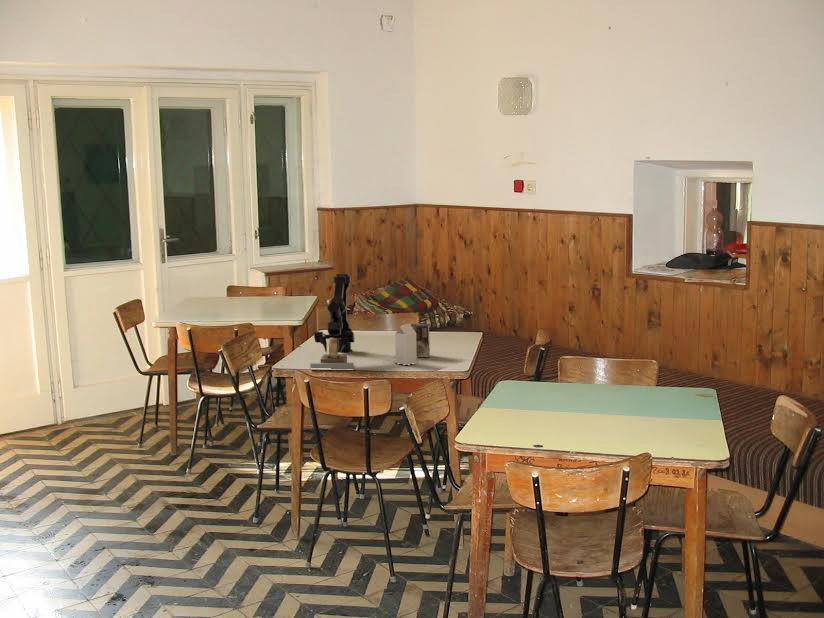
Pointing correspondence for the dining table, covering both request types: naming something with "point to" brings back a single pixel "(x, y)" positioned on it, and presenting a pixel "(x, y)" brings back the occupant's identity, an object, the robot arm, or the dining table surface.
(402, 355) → the milk carton
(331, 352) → the dowel
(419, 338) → the coffee box
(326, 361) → the socket block
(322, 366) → the stop rail
